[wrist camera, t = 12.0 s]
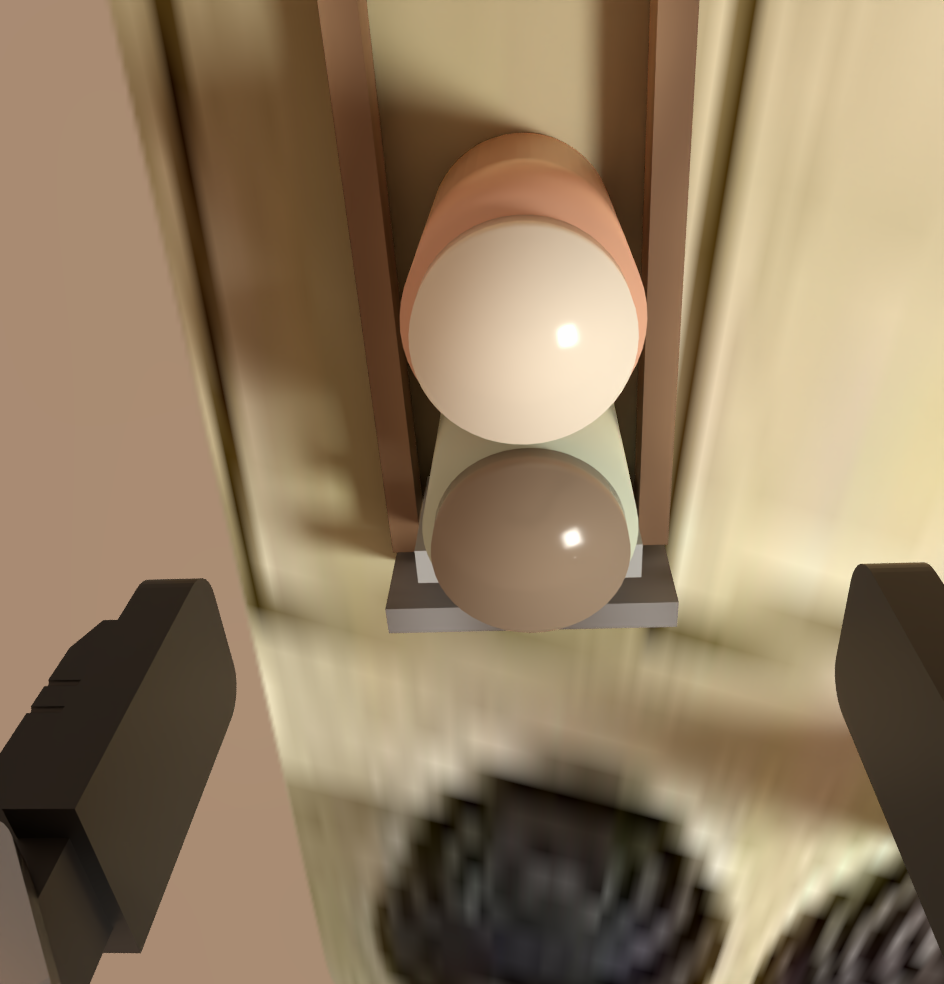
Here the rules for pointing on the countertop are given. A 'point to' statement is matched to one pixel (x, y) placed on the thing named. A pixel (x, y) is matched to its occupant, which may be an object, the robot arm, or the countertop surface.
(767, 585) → the countertop surface
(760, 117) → the countertop surface
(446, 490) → the sage jar
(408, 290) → the terracotta jar
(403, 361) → the lane
